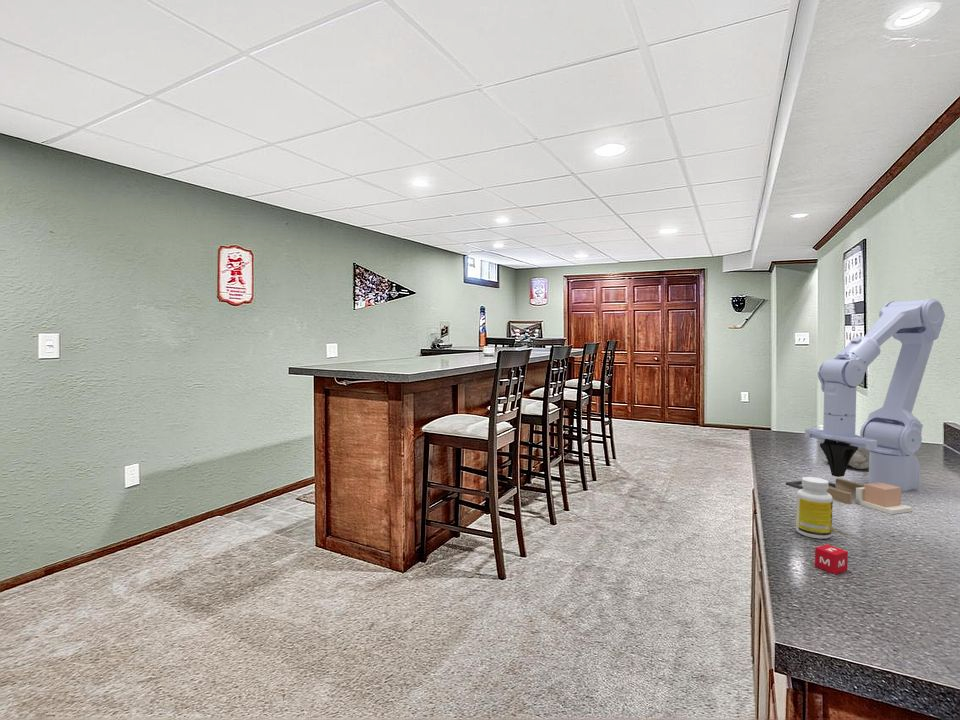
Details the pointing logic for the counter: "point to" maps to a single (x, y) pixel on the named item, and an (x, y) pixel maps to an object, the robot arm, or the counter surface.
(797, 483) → the pit
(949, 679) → the counter surface
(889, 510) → the cream low channel
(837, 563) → the red letter cube
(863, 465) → the fossil replica
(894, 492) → the block
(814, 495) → the supplement bottle
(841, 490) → the track
